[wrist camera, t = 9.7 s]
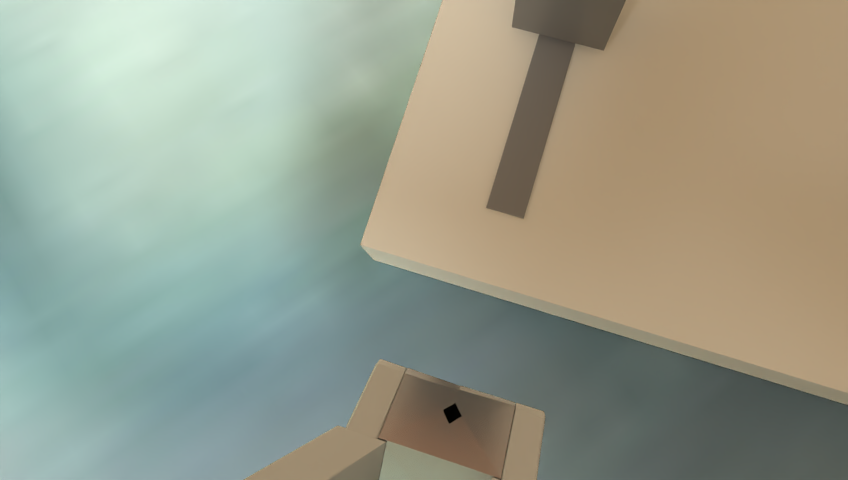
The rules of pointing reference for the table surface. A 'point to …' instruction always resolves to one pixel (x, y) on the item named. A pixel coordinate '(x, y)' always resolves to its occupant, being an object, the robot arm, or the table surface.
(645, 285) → the switch base
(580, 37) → the terracotta switch knob
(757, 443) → the table surface
